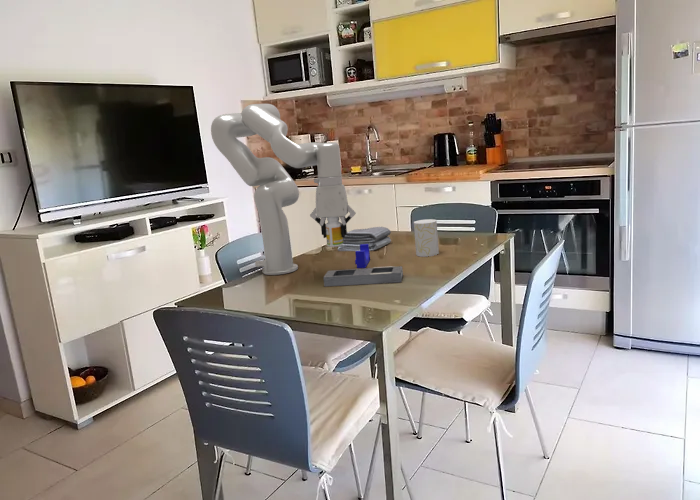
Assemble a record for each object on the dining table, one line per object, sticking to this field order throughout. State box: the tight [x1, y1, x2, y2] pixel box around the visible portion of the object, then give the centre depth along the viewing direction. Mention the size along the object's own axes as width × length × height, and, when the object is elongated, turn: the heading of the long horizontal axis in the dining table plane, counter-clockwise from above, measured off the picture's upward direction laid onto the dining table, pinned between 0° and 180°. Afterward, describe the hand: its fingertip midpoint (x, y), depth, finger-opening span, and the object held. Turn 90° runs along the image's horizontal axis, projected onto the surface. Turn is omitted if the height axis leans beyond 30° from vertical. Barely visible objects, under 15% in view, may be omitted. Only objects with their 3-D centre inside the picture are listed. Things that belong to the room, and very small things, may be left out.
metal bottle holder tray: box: [322, 265, 404, 288], centre depth 181 cm, size 24×8×3 cm, turn 81°
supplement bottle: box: [325, 217, 343, 248], centre depth 189 cm, size 5×5×10 cm
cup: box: [413, 218, 440, 258], centre depth 208 cm, size 8×8×12 cm
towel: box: [337, 226, 392, 252], centre depth 232 cm, size 15×18×8 cm
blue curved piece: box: [354, 244, 371, 269], centre depth 204 cm, size 12×4×6 cm, turn 170°
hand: (334, 236), depth 190 cm, fingers closed on supplement bottle, 5 cm apart
